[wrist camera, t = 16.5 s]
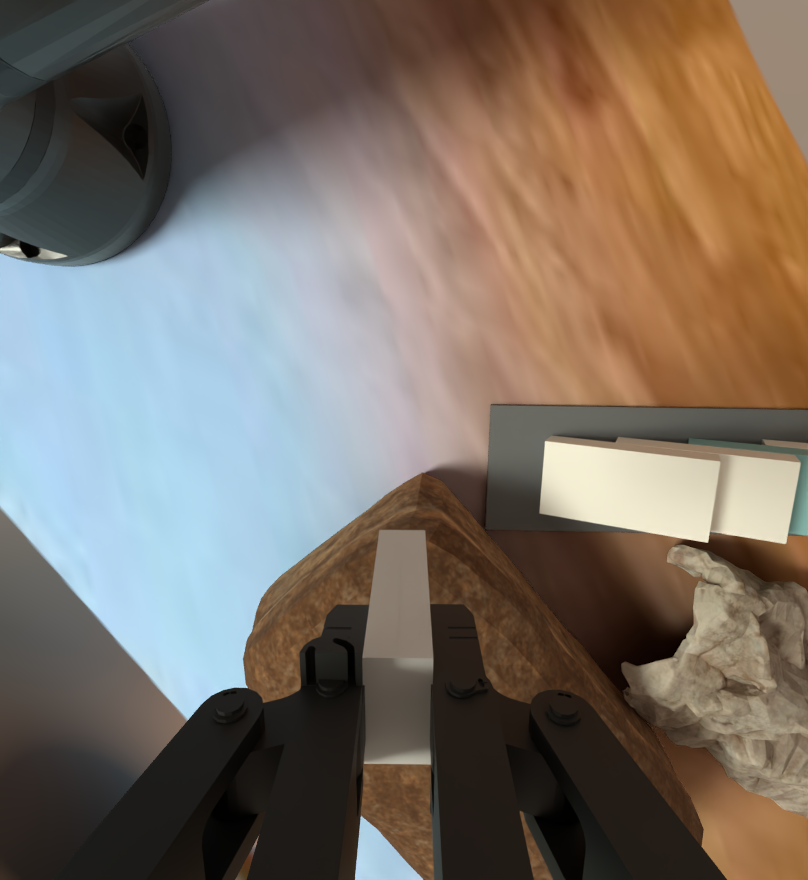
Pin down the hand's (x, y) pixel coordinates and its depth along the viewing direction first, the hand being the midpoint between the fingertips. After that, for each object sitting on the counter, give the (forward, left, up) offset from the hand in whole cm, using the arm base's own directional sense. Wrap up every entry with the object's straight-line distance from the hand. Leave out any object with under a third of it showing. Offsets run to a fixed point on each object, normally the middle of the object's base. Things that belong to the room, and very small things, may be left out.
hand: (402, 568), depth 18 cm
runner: (+13, +12, -20) cm, 27 cm away
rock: (+31, +8, -21) cm, 38 cm away
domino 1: (+8, +6, -19) cm, 21 cm away
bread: (+16, -8, -21) cm, 28 cm away
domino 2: (+11, +9, -19) cm, 24 cm away
